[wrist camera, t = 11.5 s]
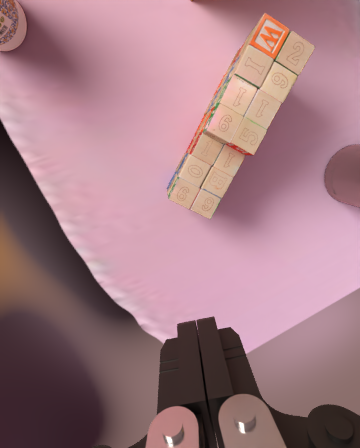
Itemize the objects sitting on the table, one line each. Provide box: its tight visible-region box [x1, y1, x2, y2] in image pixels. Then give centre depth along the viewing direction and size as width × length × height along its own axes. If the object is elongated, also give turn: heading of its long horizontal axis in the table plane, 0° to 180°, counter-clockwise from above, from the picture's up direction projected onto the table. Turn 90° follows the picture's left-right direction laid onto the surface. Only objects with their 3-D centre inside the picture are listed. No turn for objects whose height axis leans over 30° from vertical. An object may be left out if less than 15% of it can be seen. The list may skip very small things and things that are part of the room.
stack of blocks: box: [167, 13, 315, 219], centre depth 35 cm, size 21×6×12 cm, turn 153°
